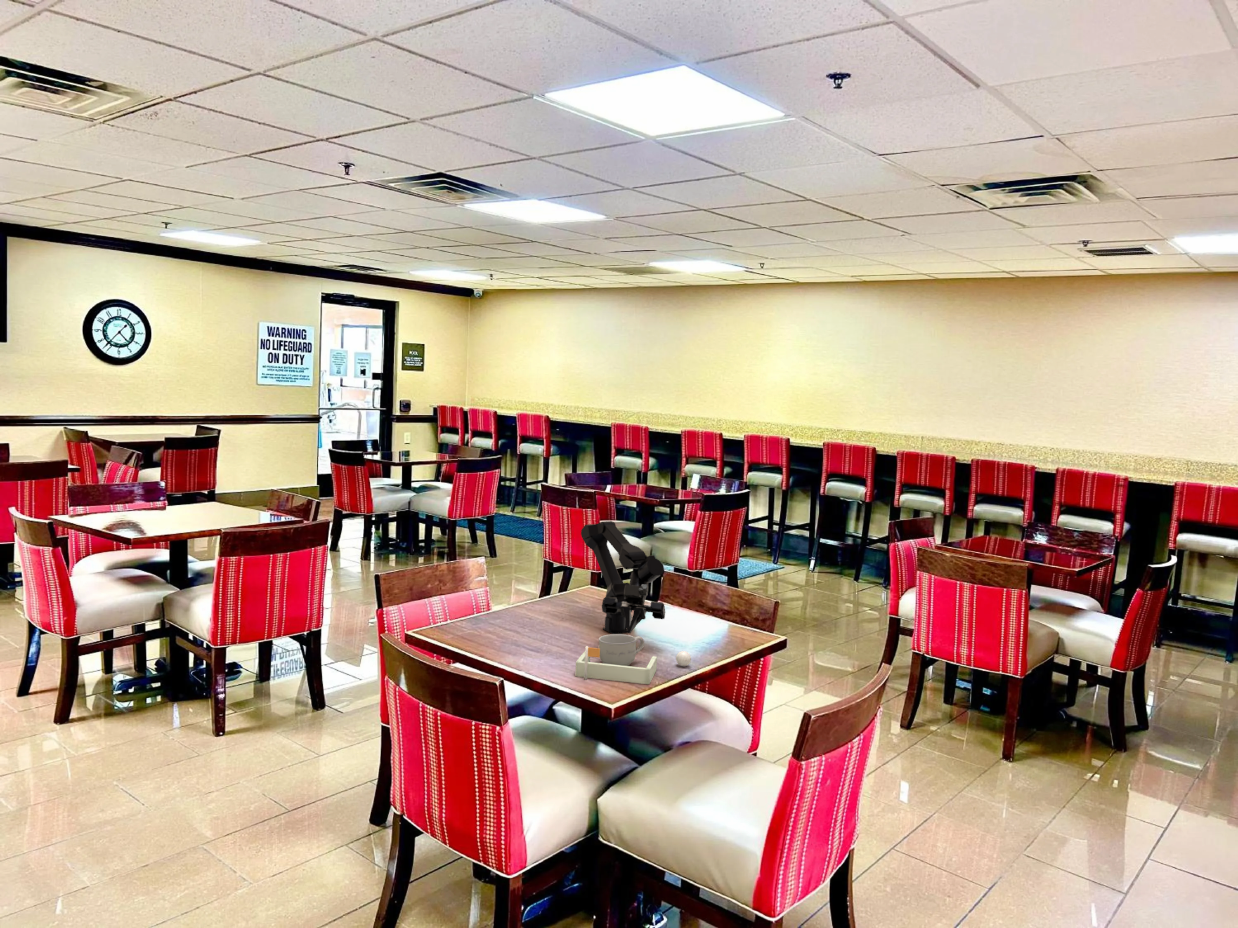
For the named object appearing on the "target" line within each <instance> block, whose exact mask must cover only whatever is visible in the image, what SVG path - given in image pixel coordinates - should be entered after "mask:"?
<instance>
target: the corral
mask: <svg viewBox="0 0 1238 928" xmlns="http://www.w3.org/2000/svg"><path fill="white" fill-rule="evenodd" d="M591 658H599V659H600V649H599V647H598V648H596V647H589V646H588V645H586V646H585V651H583V652H582V654H581V655H580V656H579V657H578V659H577V660H576V661H575V673H574V675H575V677H579V678H583V680H588V679H598V680H604V681H605V680H606V681H613V682H614V681H615V682H623V683H624V682H625V683H632V684H640V685H641V684H642V685H650V684H651V682H652V679H653V677H654V676H655V674H656V673H657V665H658V664H657V663H658V656H656V655H652V657H651V658H650V661H649V662H648V665H647V666H646V667H640V666H639V667H638V666H630V665H629V666H622V665H612V664H604V663H603V662H602V663H600V662H591Z"/></svg>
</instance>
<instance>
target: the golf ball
mask: <svg viewBox="0 0 1238 928" xmlns="http://www.w3.org/2000/svg"><path fill="white" fill-rule="evenodd" d="M675 661H676V663H677V664H678V665H679V666H680V667H687V666H688V665H690V663H691V661H692V657H691V654H690V653H689V652H688V651H685V650H682V651H679V652H678V653H677V654H676V656H675Z"/></svg>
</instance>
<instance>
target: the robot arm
mask: <svg viewBox="0 0 1238 928" xmlns="http://www.w3.org/2000/svg"><path fill="white" fill-rule="evenodd" d="M580 535H581V538H582V540H583V542H584V543H585V546H587V547H588V548H589V549H591V550H592V551H593V553H594V556H595V559H596V561H597V563H598V564H597V565H598V567H599V569H600V571H601V573H602V577H603V579H604V582H605V585H606V587H607V588H606V593H605V597H604V598H603V599H602V603H601V611H602V612H603V613H604V614H606V616H605V617H604V627H602V629H603V630H604V631H605V632H608V633H609V634H610V633H611V634H625V633H627V634H631V633H632V632H633V631H634V629H635V628H636V627H637V626H638V624H639V623H641V621H643V620H646V617H647V616H646V613H652V614H651V615H652V617H653V618H654V619H656V620H665V618H666V608H665V604H664V602H661V601H654V600H653V601H651V602H650V605H649V604H648V605H647V604H645V603H646V598H647V597H648V594H649V583H653V582H654V581H655V580H656V579H657V578H659V577H661V575H663V574H664V571H665V567H664V564H663V563H662V561H660V560H659V559H657V558H656V557H655V555H647V554H646V553H645V552H644V550H643V549H642V548H640V547H639V546H636V545H634V544H632V543H630V541H629V540H628V538H626V536H624V534H623V533H622V532H621V531H620V529H619V528H618V527H617V525H616V523H615V522H614V521H612V520H609V521H608V520H607V521H606V520H605V521H601V522H598V523H593V524H592V523H591V524H585V525H583V527H582V529H581V531H580ZM608 543H609V544H610V545H611V546H612V548H613V549H614V550H615V551H616V552H617V554H618V561H619V563H620V565H621V566H622V568H623V569H624V570H633V571H631V574H630V575H629V577H628V579H629V582H623V581H622V578H621V575H620V573H619V572H618V569H617V565H616V564H615V561H614V558H613V556H612V554H611V551H610V549H609V546H608Z"/></svg>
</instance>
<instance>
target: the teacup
mask: <svg viewBox="0 0 1238 928" xmlns="http://www.w3.org/2000/svg"><path fill="white" fill-rule="evenodd" d="M637 641H639V642H640V643H639V646H638V647H637ZM644 646H645V640H644V638H643V637H641V636H639V635H638V636H633V635H629V634H625V633H618V634H612V633H611V634H610V633H609V634H606V635H605V634H604V635H602V636H600V637H598V648H599V649H600V658H599V660H600V661H601V662H602V663H603V664H612V665H622V666H630V665H631V664H632V663H633V662H634V661H635V659H636V655H637V654H638V653H640V651H642V650H643V648H644Z"/></svg>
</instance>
